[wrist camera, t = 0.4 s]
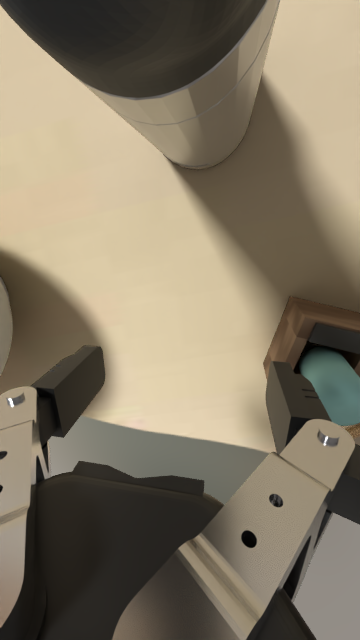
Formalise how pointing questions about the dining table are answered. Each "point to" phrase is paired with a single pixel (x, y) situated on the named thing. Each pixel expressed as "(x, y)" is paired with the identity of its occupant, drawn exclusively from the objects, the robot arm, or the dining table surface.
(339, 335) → the socket block
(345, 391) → the peg
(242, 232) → the dining table surface
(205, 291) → the dining table surface
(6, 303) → the decorative bowl
